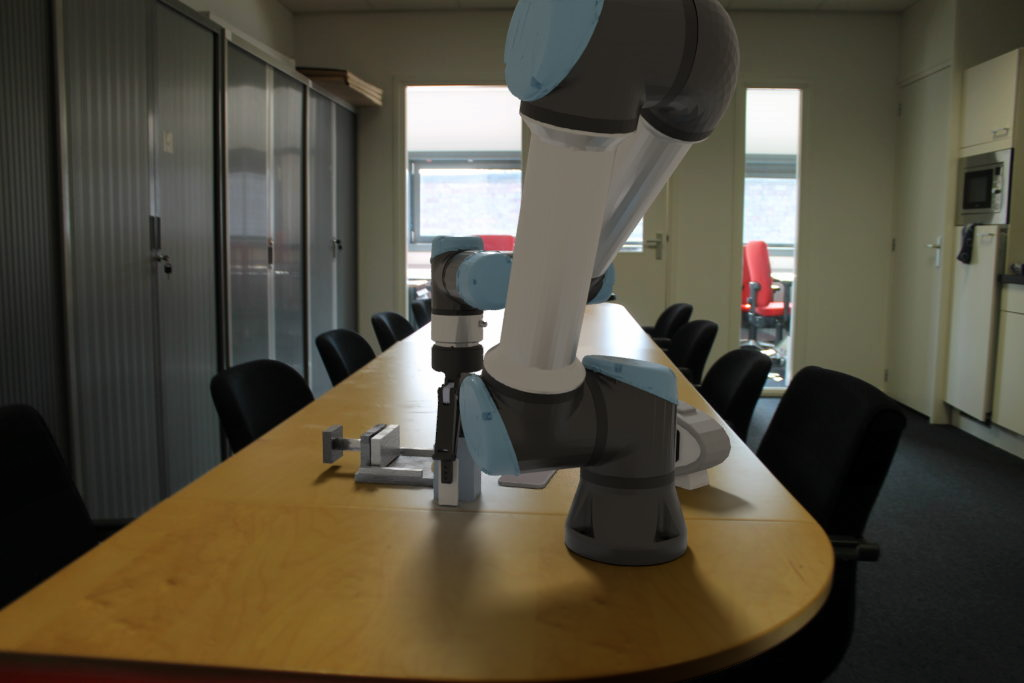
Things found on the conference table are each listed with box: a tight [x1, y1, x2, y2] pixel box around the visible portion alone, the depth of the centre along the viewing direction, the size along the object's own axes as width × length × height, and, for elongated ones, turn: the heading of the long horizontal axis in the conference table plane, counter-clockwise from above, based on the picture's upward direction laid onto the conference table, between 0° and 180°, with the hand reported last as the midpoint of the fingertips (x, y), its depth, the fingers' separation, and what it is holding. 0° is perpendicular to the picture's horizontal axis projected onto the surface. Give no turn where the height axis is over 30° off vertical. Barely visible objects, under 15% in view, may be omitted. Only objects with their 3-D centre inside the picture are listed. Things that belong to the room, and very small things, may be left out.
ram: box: [321, 423, 401, 467], centre depth 135 cm, size 10×10×5 cm
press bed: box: [354, 423, 434, 487], centre depth 134 cm, size 14×15×7 cm
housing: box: [431, 438, 482, 502], centre depth 122 cm, size 5×7×8 cm
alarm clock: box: [675, 398, 732, 491], centre depth 133 cm, size 23×6×13 cm, turn 40°
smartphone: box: [497, 470, 558, 489], centre depth 134 cm, size 7×1×15 cm
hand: (457, 492), depth 123 cm, fingers open, 10 cm apart
